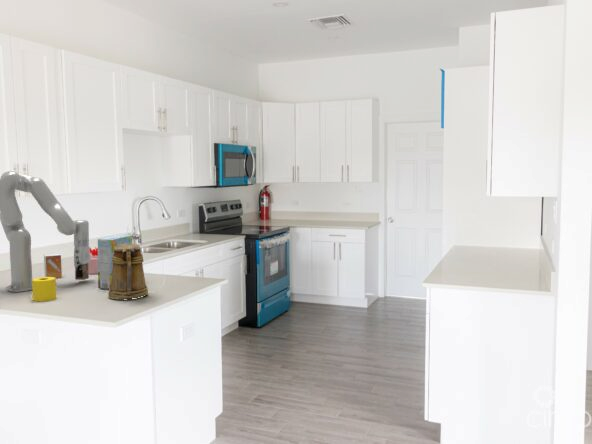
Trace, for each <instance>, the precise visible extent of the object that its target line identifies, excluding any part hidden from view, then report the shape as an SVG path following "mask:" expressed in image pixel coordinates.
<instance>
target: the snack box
mask: <svg viewBox="0 0 592 444" xmlns="http://www.w3.org/2000/svg"><path fill="white" fill-rule="evenodd" d="M125 243H128V244H133V235H131V234H115V235H112V236H107V237H102V238H98V239H97V248H98V274H97V278H98V279H97V281H98V282H97V285H98V286H97V288H98V289H105V290H109V289H110V287H111V278H112V268H113V262H112V256H113V255H114V247H115V246H117V245H120V244H125Z"/></svg>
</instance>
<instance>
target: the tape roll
mask: <svg viewBox="0 0 592 444" xmlns="http://www.w3.org/2000/svg"><path fill="white" fill-rule="evenodd" d="M56 279H57V278H55V277H45V276H42V277H36V278H35V277H34V278H32V289H33V290H32V300H33V301H35V302H47V301H52V300H55V299H57V284H56V283H57V281H56Z"/></svg>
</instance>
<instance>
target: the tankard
mask: <svg viewBox="0 0 592 444" xmlns="http://www.w3.org/2000/svg"><path fill="white" fill-rule="evenodd" d="M112 262H113V268H112V278H111V287H110V289H108V298H109V299H111V300H114V299H116V301H125V300H124V299H132V298H138V297H141V296H144V295H147V294H148V295H149V289H148V286H147V283H146V278H145V272H144V266H143V263H144V256H143V253H142V252H141V246H140V245H139V244H137V243H132V244H128V243H125V244H120V245H117V246H115V247H114V255H113V256H112ZM148 295H147V296H148Z"/></svg>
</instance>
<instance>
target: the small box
mask: <svg viewBox="0 0 592 444" xmlns="http://www.w3.org/2000/svg"><path fill="white" fill-rule="evenodd" d="M43 262H44V264H43V265H44V267H43V268H44V277H55V279H61V278H62V277H63V275H62V273H63V271H62V270H63V268H62V255H61V254H60V253H54V254H53V253H52V254H51V253H50V254H44V255H43Z"/></svg>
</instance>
